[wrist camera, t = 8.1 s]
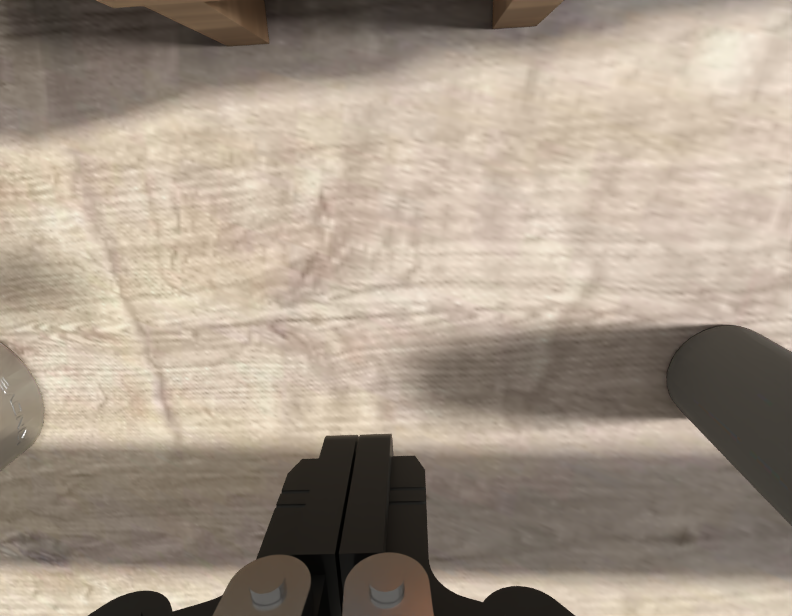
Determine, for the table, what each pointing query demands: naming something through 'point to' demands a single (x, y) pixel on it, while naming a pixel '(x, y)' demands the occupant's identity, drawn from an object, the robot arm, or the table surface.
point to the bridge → (247, 25)
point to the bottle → (741, 404)
